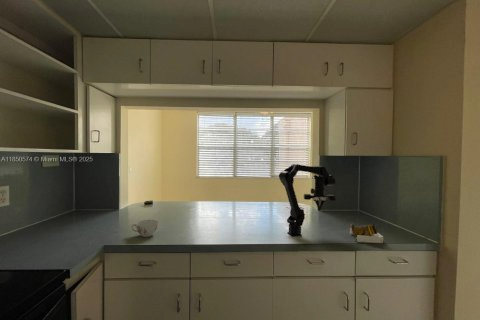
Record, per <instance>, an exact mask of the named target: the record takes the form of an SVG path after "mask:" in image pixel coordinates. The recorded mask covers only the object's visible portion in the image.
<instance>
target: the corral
mask: <svg viewBox="0 0 480 320" xmlns="http://www.w3.org/2000/svg"><path fill="white" fill-rule="evenodd" d="M349 234H350V235H353V232H352V229H351V227H349ZM356 242H359V243H371V244H372V243H373V244H374V243H375V244H383V243H384V236H383V235H382V234H380V233H379V232H378V233H377V234H373V235H371V236H367V235H357V238H356Z"/></svg>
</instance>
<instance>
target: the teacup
mask: <svg viewBox="0 0 480 320" xmlns="http://www.w3.org/2000/svg"><path fill="white" fill-rule="evenodd" d="M158 226H159V221H158V220H156V219H143V220H139V221H136V222H135V223H133V224H131V226H130V227H131V230H132V231H133V232H137V233H138V234H139V235H140V236H141V237H142V238H149V237H152V236H153V235H154V234H155V233H156V231H157V229H158ZM134 227H135V229H134Z"/></svg>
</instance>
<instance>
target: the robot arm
mask: <svg viewBox="0 0 480 320" xmlns="http://www.w3.org/2000/svg"><path fill="white" fill-rule="evenodd" d="M298 172H305V173H310V174H313V176H312V177H311V178H312V179H313V180H314V188H310V193H304V194H303V199H304V200H306V201H307V200H308V201H310V200H311V199H312V200H313V202H315V204H316V208H317V212H318V211H319V212H320V211H321V209H322V207H323V205H324V203H325V202H326V200H330V201H333V202H334V201H336V196H335V195H334V194H327V195H325V187H327V186H328V187H330V186H335V184H336V179H335V177H334V174H329V172H328V170H327V168H326V166H323V165H313V166H310V165H309V166H308V165H304V164H299V163H293V164H291V165H289V166H288V167H287V168H285V169H284V170H283V171H282V170H281V171H280V173H278V179H279V181H280V183H281V184H282V185H283V187H284V188H285V189H284V190H285V192H286V196H287V200H288V203H289V206H290V211H289V216H288V218H287V219H286V222H287V224H288V231H287V234H288V235H290V236H291V237H300V236H301V237H302V235H303V234H302V226H303V224H304V221H305V220H306V219H305V218H306V214H305V210H304V208H301V207H300V205H299V201H298V198H297V195H296V192H295V189H294V182H295V181H294V178H295V177H296V176H297V174H298Z"/></svg>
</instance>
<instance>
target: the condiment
mask: <svg viewBox="0 0 480 320" xmlns="http://www.w3.org/2000/svg"><path fill="white" fill-rule="evenodd" d="M349 226H350V228H351V229H352V232H353V234H352V235H353V237H354V240H357V235H367V236H372V235H373V234H377V233H379V232H378V229H377V226H376V225H375V224H364V225H359V226H357V225H356V226H355V224H354V222H352V223H350V225H349Z"/></svg>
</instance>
